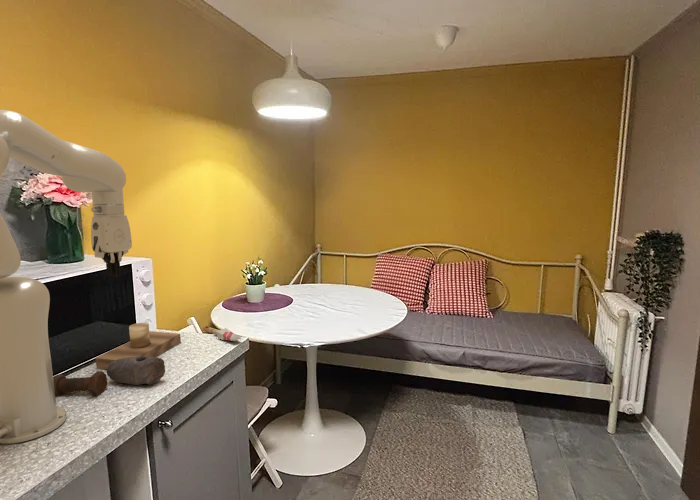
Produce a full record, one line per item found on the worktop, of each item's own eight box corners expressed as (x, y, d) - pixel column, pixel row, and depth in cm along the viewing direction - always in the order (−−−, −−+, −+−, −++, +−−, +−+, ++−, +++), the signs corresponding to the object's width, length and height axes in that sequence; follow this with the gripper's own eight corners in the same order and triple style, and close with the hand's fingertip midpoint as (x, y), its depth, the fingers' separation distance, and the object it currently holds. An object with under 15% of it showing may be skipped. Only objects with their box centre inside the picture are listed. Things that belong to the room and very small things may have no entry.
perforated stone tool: (101, 385, 107) (98, 359, 106) (115, 376, 112) (113, 351, 111) (155, 389, 104) (153, 363, 103) (168, 380, 109) (166, 354, 108)
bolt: (43, 399, 104) (105, 396, 104) (28, 398, 99) (93, 396, 99) (48, 374, 106) (109, 371, 106) (34, 372, 101) (97, 370, 101)
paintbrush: (232, 336, 132) (199, 325, 145) (232, 345, 132) (200, 333, 146) (242, 333, 135) (210, 323, 148) (243, 341, 135) (210, 330, 148)
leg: (142, 357, 123) (140, 329, 121) (127, 355, 124) (124, 327, 123) (154, 350, 128) (152, 323, 126) (139, 349, 129) (137, 322, 128)
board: (130, 372, 114) (129, 361, 114) (96, 368, 117) (95, 358, 116) (180, 342, 135) (180, 333, 135) (150, 340, 138) (150, 331, 137)
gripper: (97, 211, 110) (103, 281, 112) (140, 210, 124) (144, 272, 126) (74, 211, 112) (80, 280, 114) (118, 210, 126) (123, 271, 128)
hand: (113, 275), depth 120 cm, fingers closed
